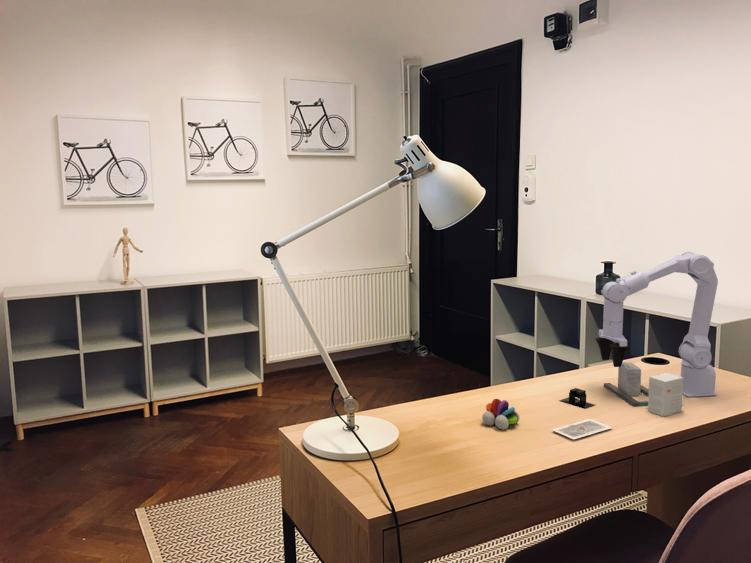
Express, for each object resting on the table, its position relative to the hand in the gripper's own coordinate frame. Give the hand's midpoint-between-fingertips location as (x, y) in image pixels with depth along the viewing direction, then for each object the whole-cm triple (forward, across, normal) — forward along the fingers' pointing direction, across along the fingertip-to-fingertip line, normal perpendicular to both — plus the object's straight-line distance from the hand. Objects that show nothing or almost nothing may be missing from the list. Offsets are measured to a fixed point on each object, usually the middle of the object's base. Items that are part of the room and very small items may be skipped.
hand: (611, 363), depth 202 cm
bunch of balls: (+10, +19, -42) cm, 47 cm away
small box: (+10, +18, +8) cm, 22 cm away
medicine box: (+10, 0, +6) cm, 12 cm away
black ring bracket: (+10, +7, -14) cm, 19 cm away
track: (+10, +4, +6) cm, 12 cm away
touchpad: (+10, +28, -22) cm, 37 cm away
